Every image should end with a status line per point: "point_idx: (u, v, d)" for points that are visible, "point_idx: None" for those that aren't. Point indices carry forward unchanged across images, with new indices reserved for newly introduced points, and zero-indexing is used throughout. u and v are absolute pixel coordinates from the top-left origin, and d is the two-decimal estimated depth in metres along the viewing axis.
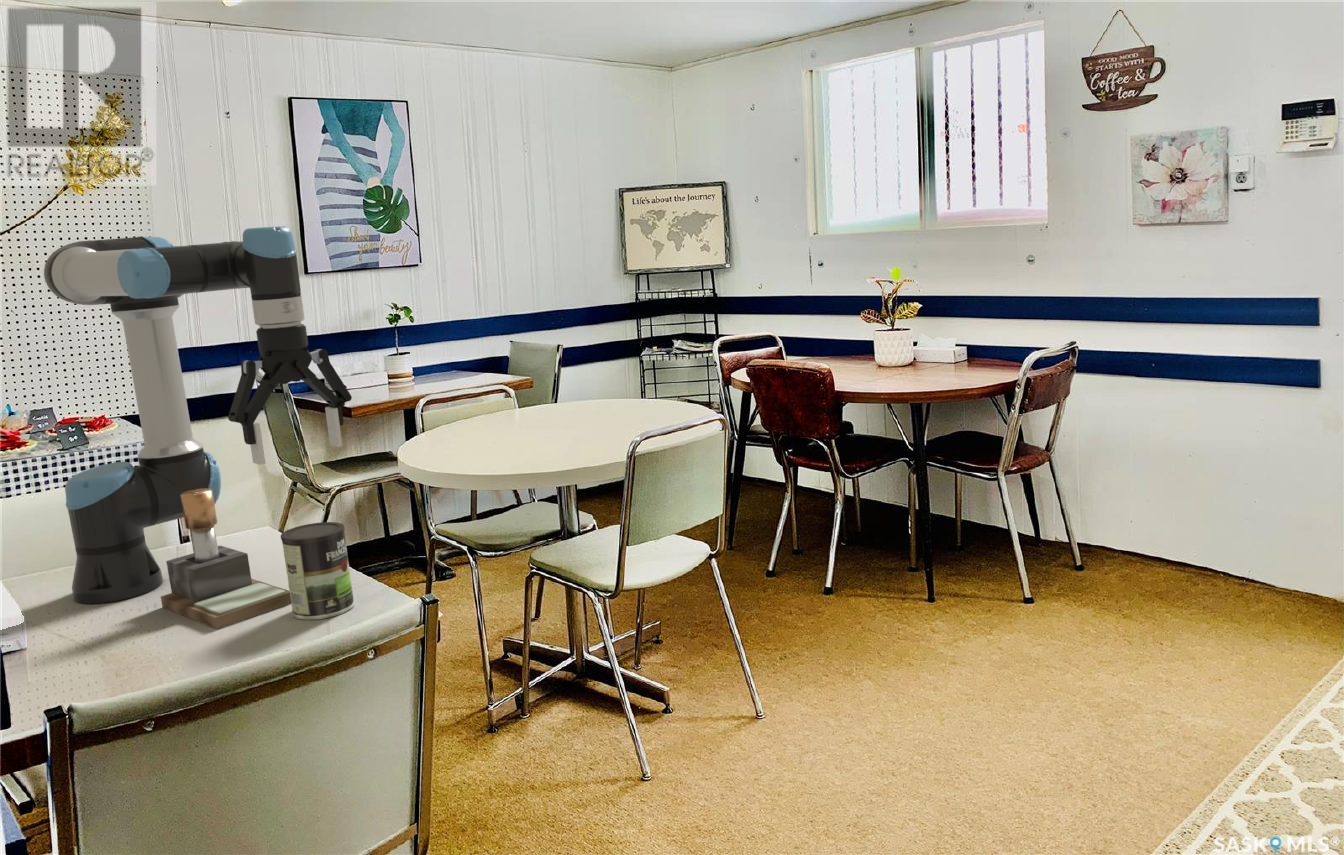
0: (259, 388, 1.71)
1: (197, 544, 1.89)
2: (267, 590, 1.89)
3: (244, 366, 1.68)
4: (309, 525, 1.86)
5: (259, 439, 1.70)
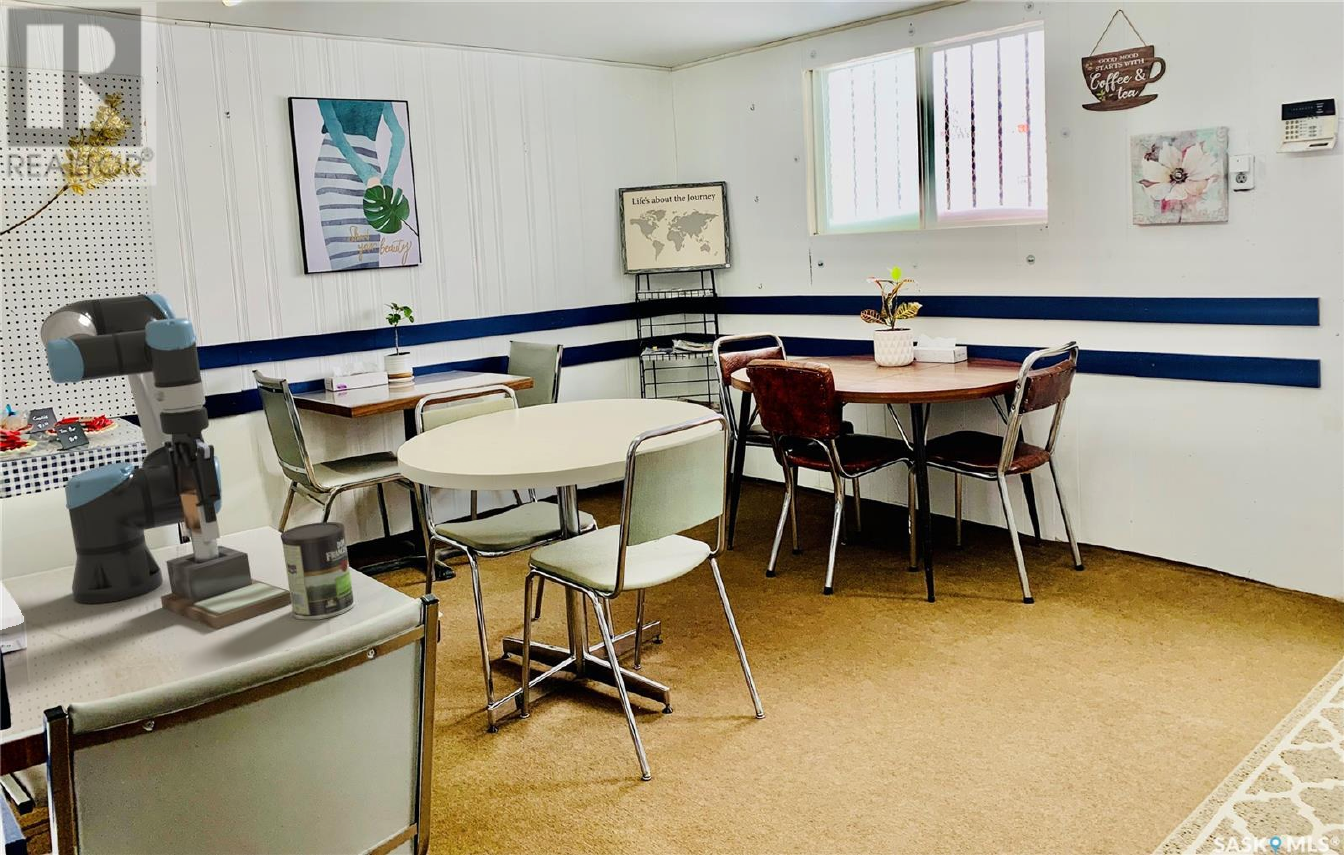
0: None
1: (197, 544, 1.89)
2: (267, 590, 1.89)
3: None
4: (309, 525, 1.86)
5: None
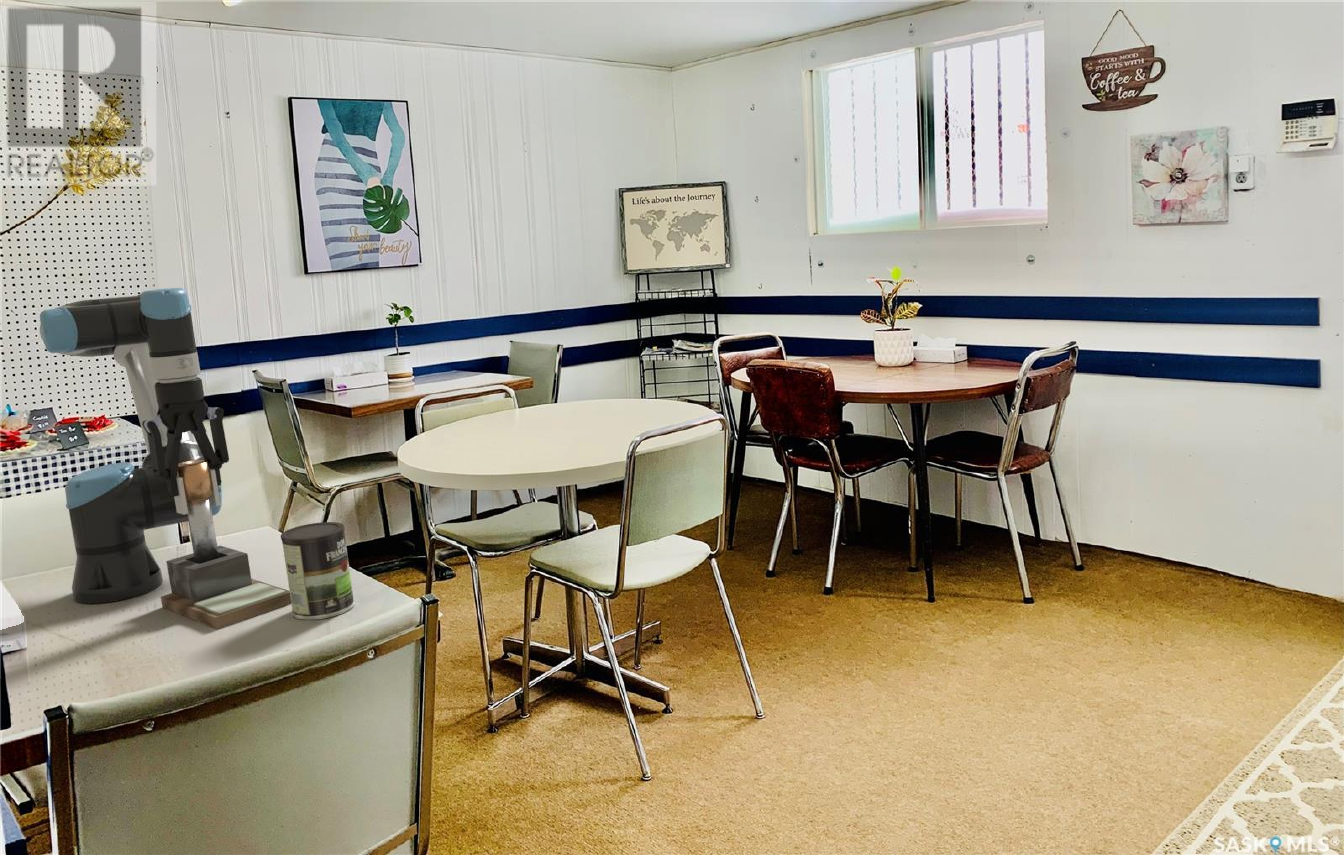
0: (168, 442, 1.86)
1: (209, 512, 1.90)
2: (267, 590, 1.89)
3: (146, 427, 1.82)
4: (309, 525, 1.86)
5: (182, 491, 1.86)
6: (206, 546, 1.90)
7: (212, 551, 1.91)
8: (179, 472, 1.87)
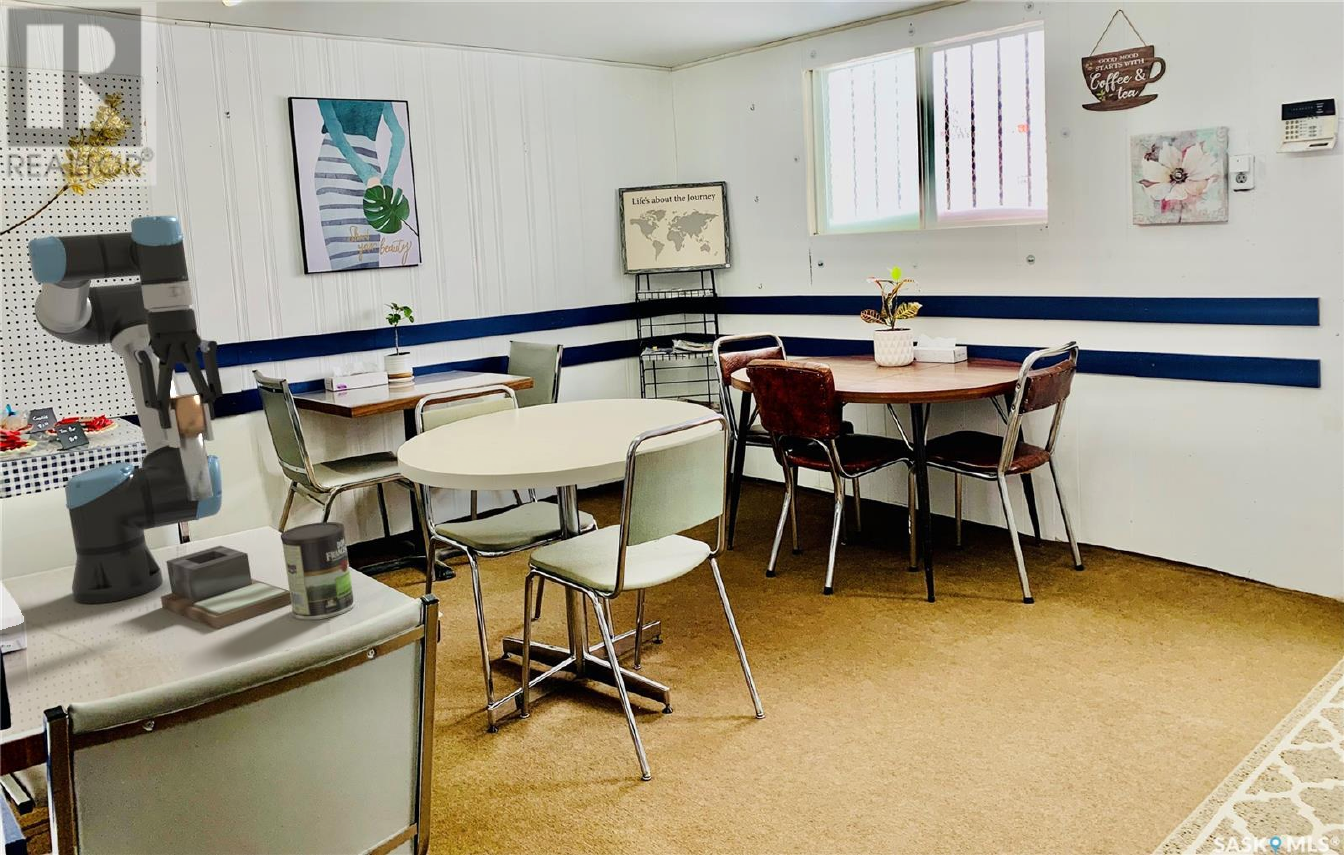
0: (160, 374, 1.82)
1: (202, 446, 1.86)
2: (267, 590, 1.89)
3: (137, 357, 1.79)
4: (309, 525, 1.86)
5: (174, 424, 1.83)
6: (198, 481, 1.86)
7: (205, 487, 1.87)
8: (171, 404, 1.83)
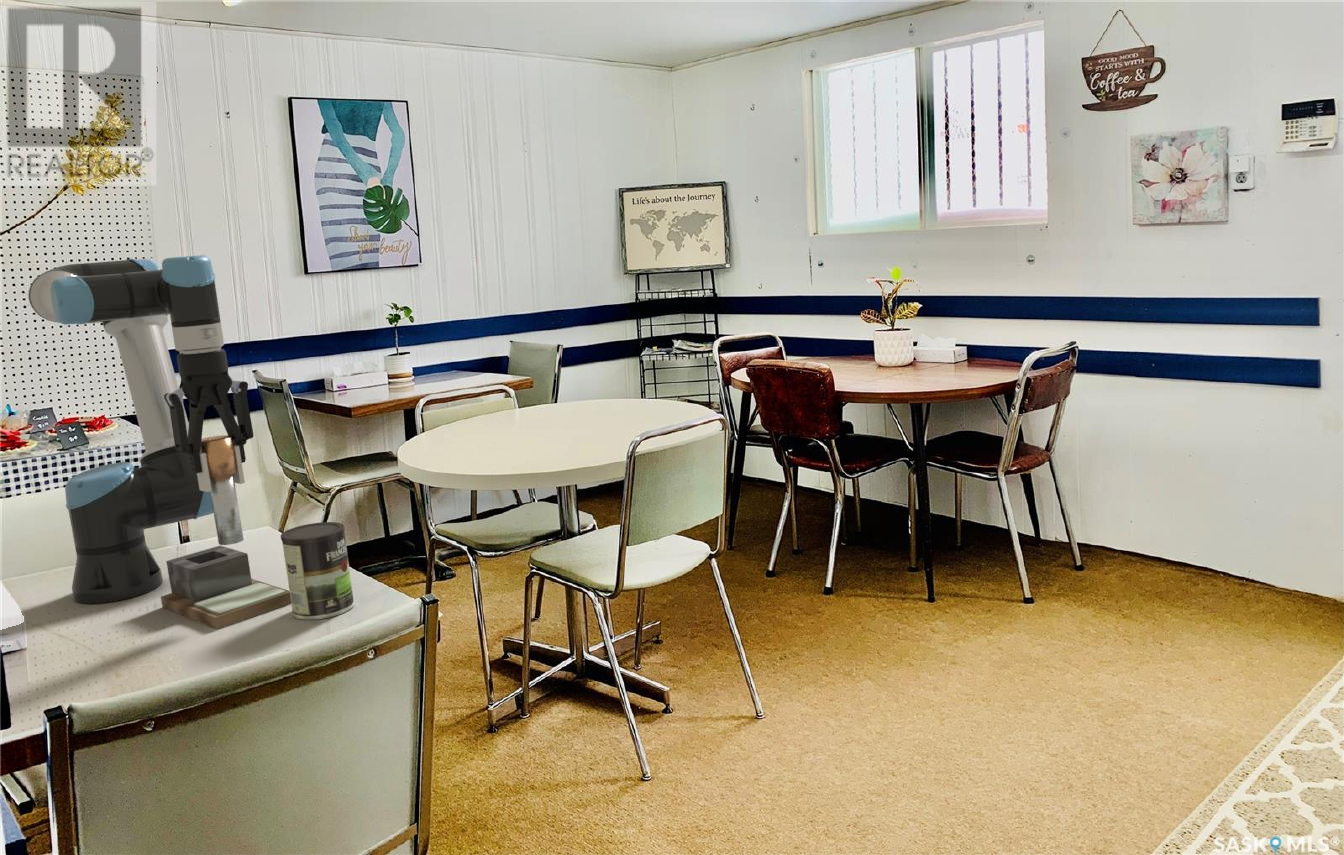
0: (191, 417, 1.78)
1: (233, 489, 1.82)
2: (267, 590, 1.89)
3: (168, 400, 1.75)
4: (309, 525, 1.86)
5: (205, 468, 1.79)
6: (229, 525, 1.82)
7: (236, 531, 1.83)
8: (202, 447, 1.79)
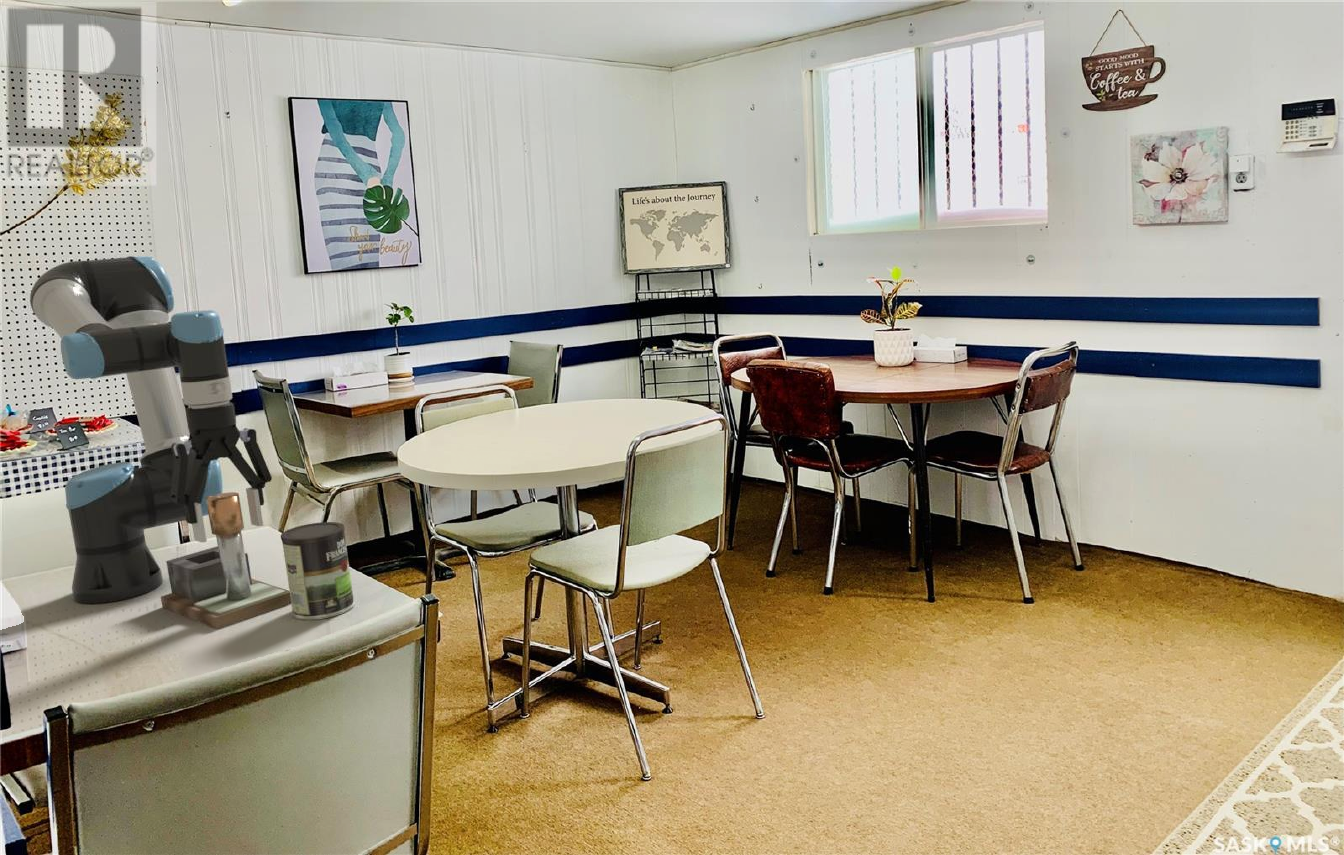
0: (193, 468, 1.79)
1: (241, 546, 1.84)
2: (267, 590, 1.89)
3: (175, 449, 1.76)
4: (309, 525, 1.86)
5: (200, 518, 1.79)
6: (238, 581, 1.84)
7: (244, 587, 1.85)
8: (210, 506, 1.81)
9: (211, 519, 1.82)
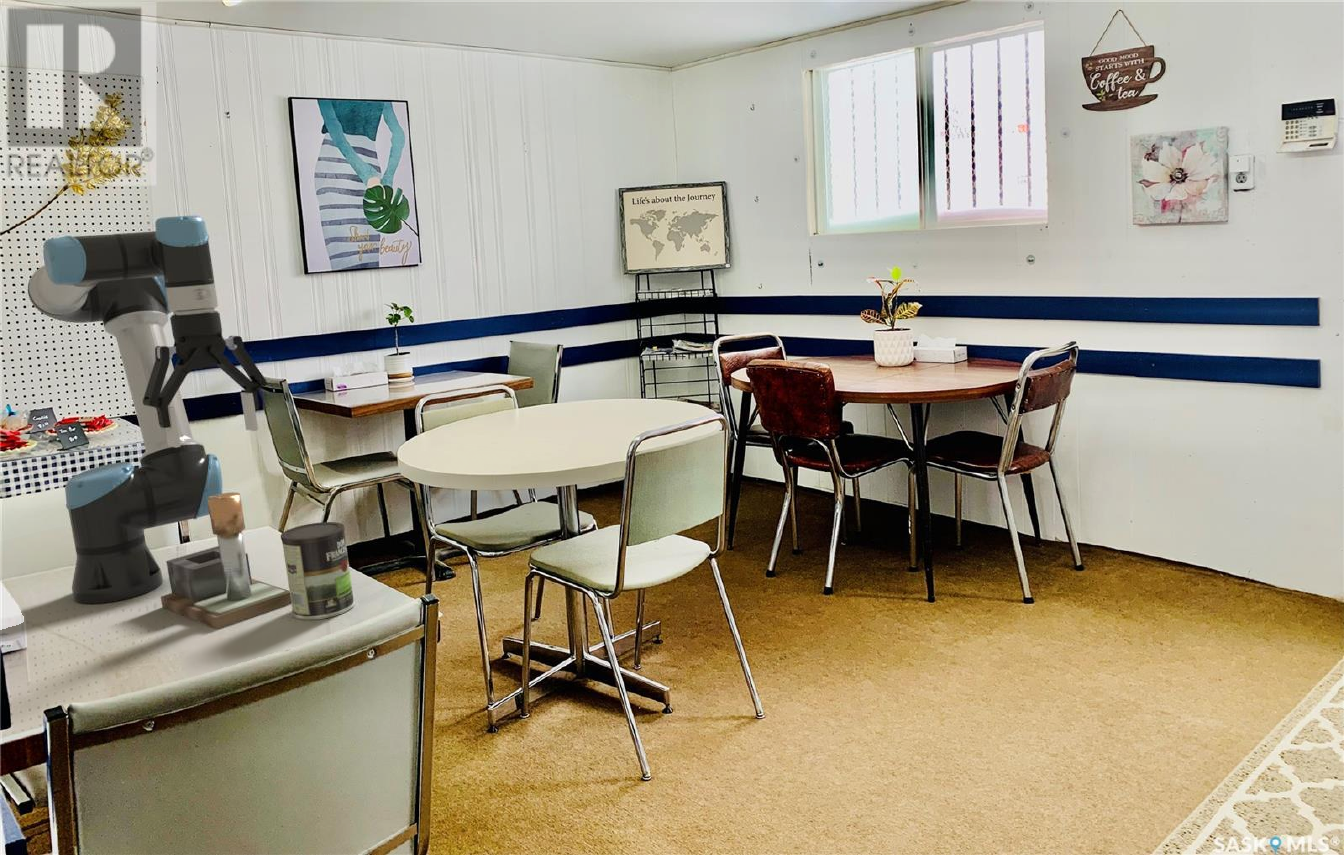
0: (173, 373, 1.76)
1: (242, 546, 1.84)
2: (267, 590, 1.89)
3: (158, 351, 1.73)
4: (309, 525, 1.86)
5: (174, 422, 1.74)
6: (238, 581, 1.84)
7: (245, 587, 1.85)
8: (211, 506, 1.81)
9: (212, 519, 1.82)
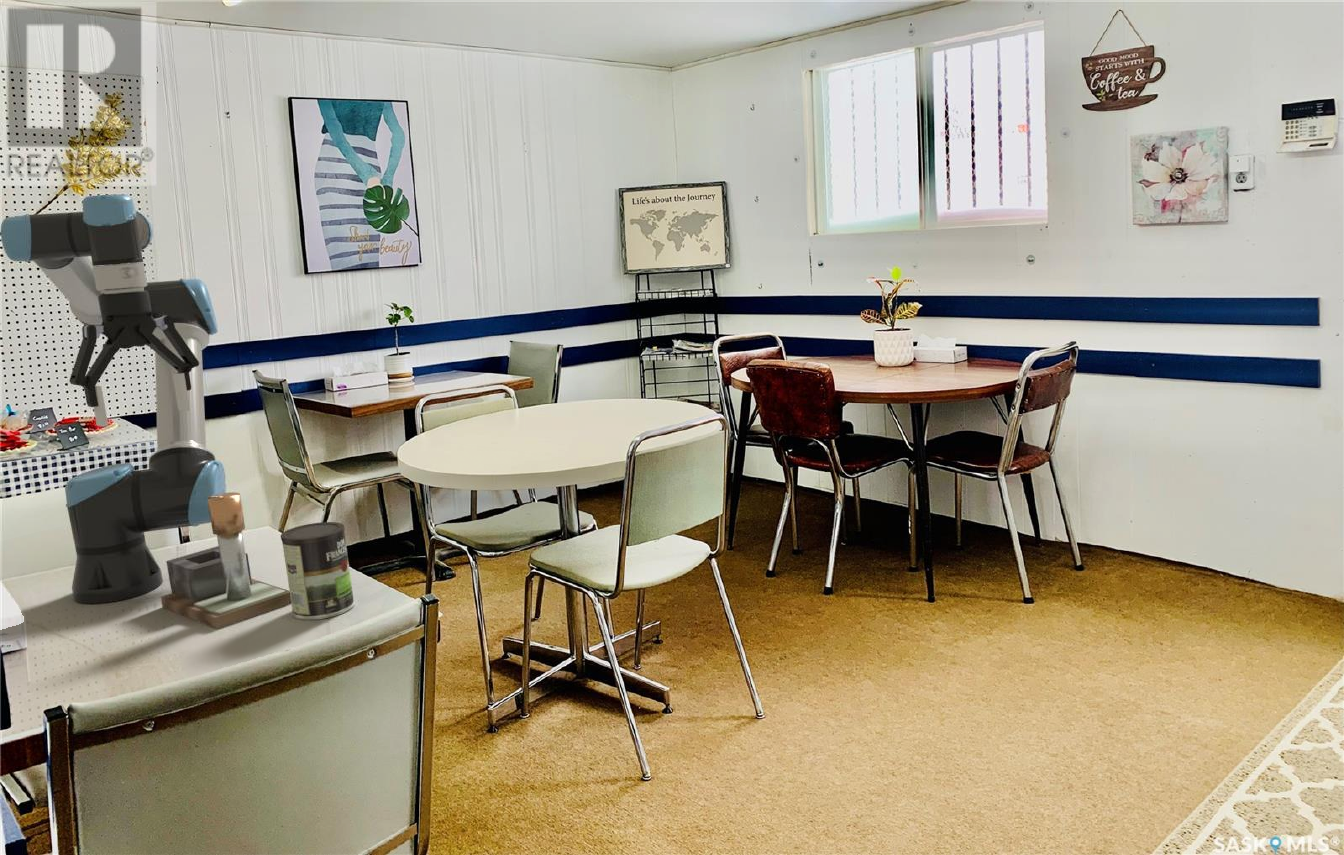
0: (101, 352, 1.75)
1: (242, 546, 1.84)
2: (267, 590, 1.89)
3: (85, 330, 1.73)
4: (309, 525, 1.86)
5: (101, 402, 1.74)
6: (238, 581, 1.84)
7: (245, 587, 1.85)
8: (211, 506, 1.81)
9: (212, 519, 1.82)
